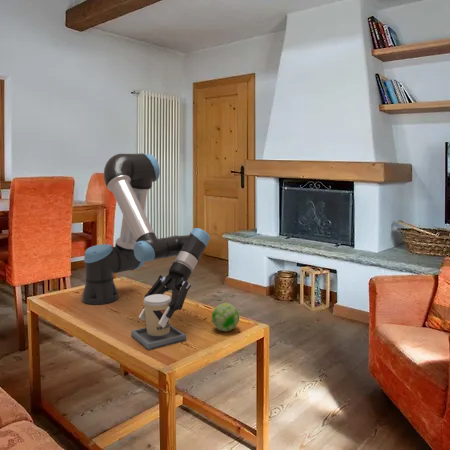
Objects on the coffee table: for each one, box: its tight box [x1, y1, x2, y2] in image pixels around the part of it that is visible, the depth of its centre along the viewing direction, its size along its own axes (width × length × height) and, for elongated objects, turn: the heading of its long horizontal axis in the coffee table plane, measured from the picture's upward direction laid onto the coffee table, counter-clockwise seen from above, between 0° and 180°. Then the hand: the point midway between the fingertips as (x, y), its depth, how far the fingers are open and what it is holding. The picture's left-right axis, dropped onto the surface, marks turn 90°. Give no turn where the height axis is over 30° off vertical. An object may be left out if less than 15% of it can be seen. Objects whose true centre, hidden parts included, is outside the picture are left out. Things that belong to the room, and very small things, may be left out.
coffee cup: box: [143, 293, 171, 336], centre depth 156 cm, size 9×9×12 cm
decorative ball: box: [211, 302, 240, 332], centre depth 164 cm, size 10×10×10 cm
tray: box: [130, 323, 187, 351], centre depth 157 cm, size 14×14×2 cm
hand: (151, 322), depth 154 cm, fingers closed on coffee cup, 9 cm apart
